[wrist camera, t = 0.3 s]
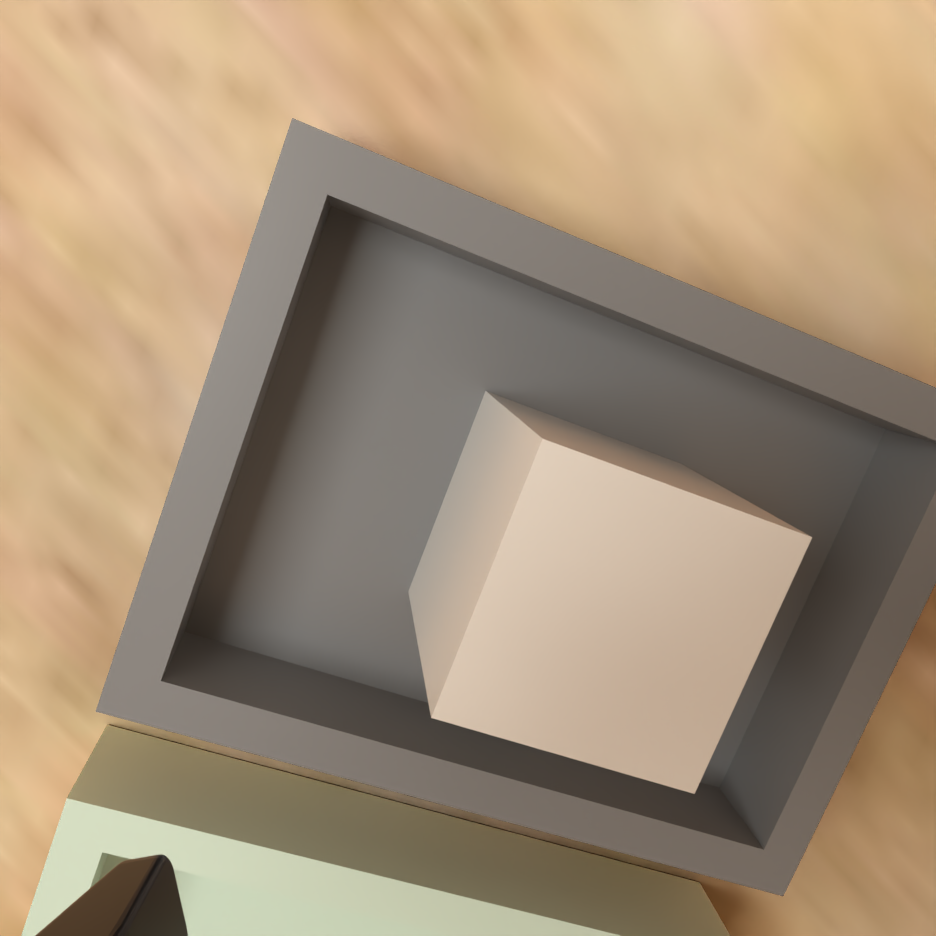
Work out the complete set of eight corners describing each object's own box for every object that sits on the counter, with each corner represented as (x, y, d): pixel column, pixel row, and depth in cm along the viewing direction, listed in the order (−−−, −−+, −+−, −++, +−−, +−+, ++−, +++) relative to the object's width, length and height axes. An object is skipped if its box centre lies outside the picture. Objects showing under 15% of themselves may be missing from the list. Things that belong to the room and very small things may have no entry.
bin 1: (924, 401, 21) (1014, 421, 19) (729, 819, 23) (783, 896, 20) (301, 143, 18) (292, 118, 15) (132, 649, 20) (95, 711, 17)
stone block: (681, 463, 20) (812, 537, 15) (600, 652, 21) (694, 794, 15) (485, 390, 19) (542, 438, 14) (408, 591, 20) (431, 718, 14)
